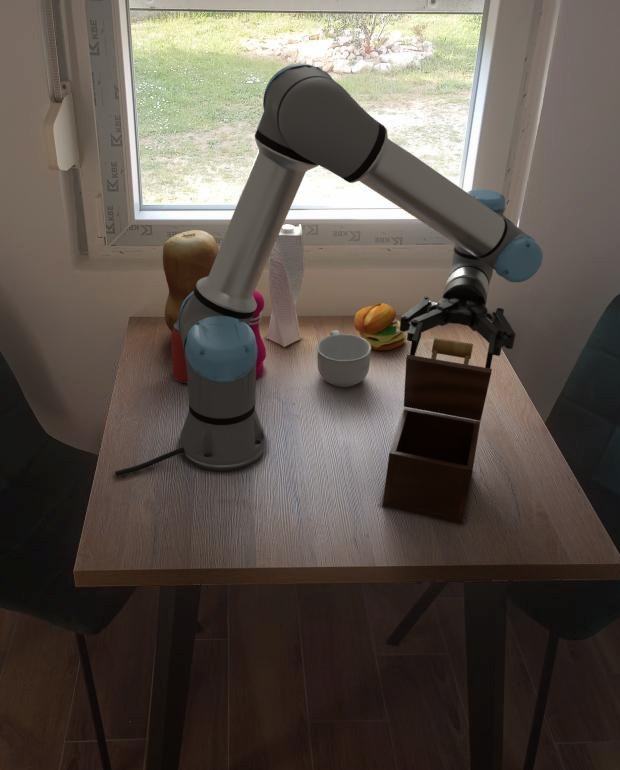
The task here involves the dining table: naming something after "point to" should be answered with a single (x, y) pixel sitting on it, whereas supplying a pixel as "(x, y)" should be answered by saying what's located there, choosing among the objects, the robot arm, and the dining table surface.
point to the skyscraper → (285, 284)
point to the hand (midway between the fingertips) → (450, 354)
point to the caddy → (431, 464)
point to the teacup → (343, 359)
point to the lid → (446, 382)
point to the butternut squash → (186, 267)
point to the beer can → (178, 356)
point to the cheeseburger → (379, 327)
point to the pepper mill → (255, 328)
